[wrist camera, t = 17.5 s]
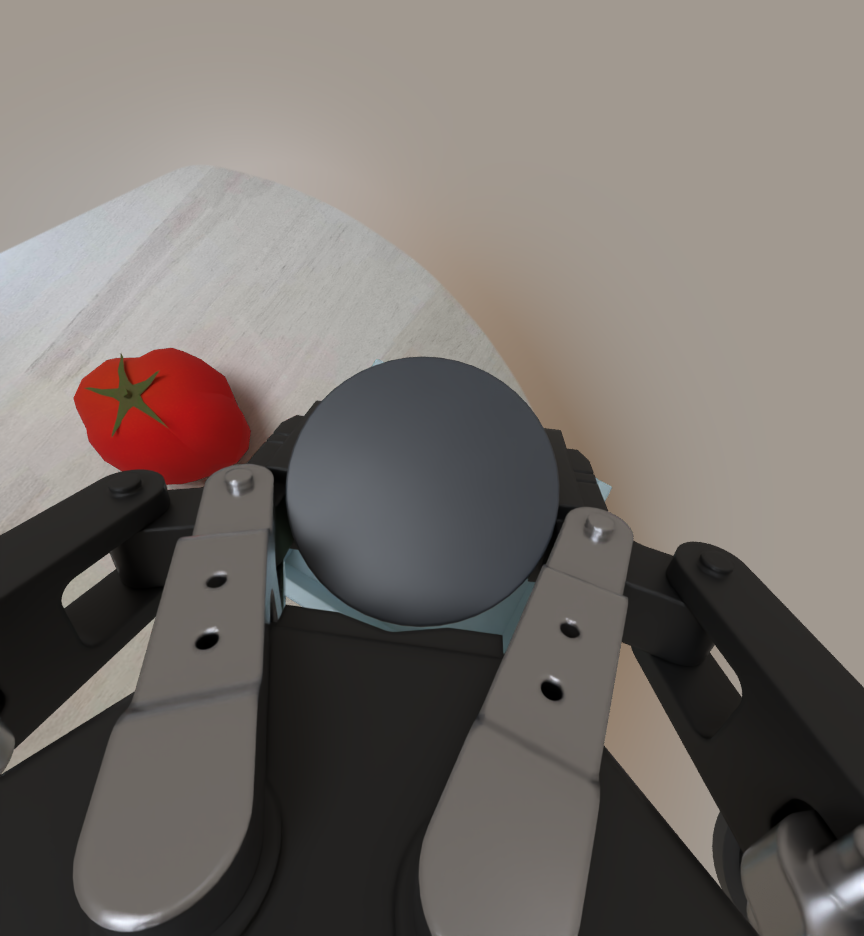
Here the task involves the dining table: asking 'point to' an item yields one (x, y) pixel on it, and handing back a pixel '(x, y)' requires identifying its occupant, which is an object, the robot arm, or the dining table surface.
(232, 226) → the dining table surface
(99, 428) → the tomato
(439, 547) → the plastic tub
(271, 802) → the robot arm
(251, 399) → the dining table surface
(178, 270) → the dining table surface
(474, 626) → the tray
